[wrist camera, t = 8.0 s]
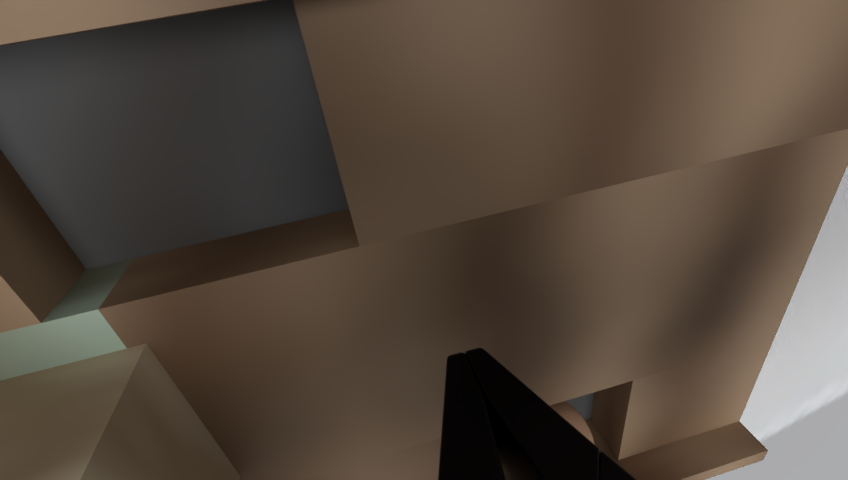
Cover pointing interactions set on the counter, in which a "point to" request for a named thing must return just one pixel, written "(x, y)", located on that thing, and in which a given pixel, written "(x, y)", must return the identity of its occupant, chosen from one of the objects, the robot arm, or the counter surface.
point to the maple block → (105, 424)
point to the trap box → (419, 211)
